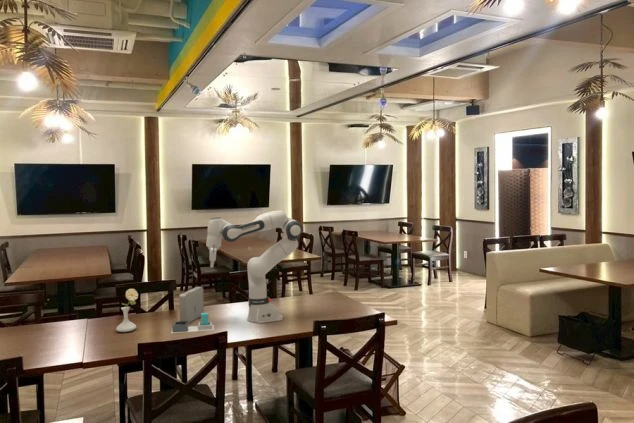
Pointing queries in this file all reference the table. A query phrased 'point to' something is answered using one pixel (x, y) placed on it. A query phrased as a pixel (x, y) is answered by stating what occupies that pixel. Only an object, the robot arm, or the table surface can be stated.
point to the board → (193, 329)
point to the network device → (191, 304)
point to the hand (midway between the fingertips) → (211, 266)
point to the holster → (204, 326)
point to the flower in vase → (127, 324)
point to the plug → (204, 319)
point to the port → (180, 326)
